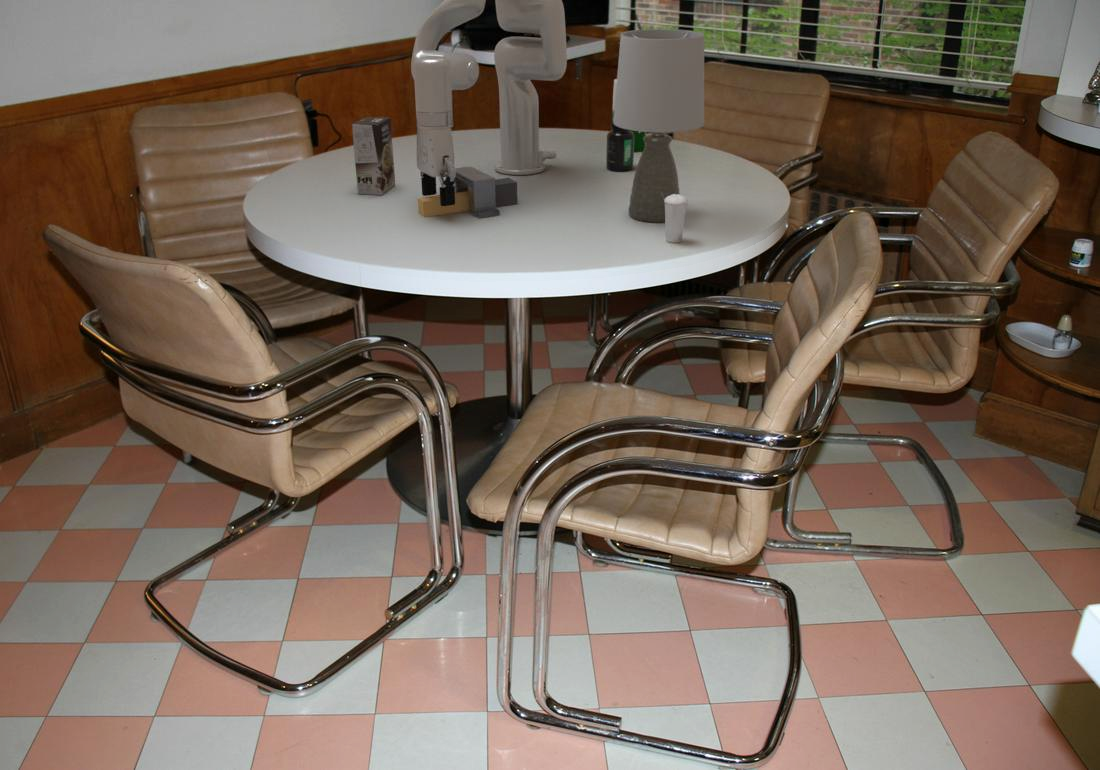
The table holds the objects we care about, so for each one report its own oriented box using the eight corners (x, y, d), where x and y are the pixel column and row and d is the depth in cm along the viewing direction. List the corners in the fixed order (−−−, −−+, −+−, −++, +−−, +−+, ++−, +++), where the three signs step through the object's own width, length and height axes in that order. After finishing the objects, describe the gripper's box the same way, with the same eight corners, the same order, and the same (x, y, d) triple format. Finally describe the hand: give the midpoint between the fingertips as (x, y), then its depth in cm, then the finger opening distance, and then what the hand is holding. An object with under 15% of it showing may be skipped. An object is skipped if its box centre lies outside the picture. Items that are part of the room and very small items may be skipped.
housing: (468, 197, 225) (466, 164, 222) (500, 215, 213) (499, 180, 209) (448, 200, 223) (446, 167, 220) (479, 218, 211) (477, 183, 207)
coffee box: (383, 195, 227) (377, 124, 220) (356, 194, 228) (350, 123, 221) (396, 185, 235) (391, 116, 228) (371, 184, 236) (365, 115, 229)
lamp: (715, 215, 212) (728, 33, 196) (659, 234, 200) (668, 42, 184) (649, 198, 224) (656, 26, 208) (593, 215, 212) (595, 34, 196)
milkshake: (656, 237, 198) (658, 188, 194) (682, 236, 199) (685, 187, 194) (660, 244, 194) (662, 194, 190) (687, 243, 195) (690, 193, 190)
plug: (509, 199, 224) (508, 177, 222) (517, 204, 220) (517, 182, 218) (417, 212, 215) (416, 190, 213) (424, 217, 211) (423, 194, 209)
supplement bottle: (634, 172, 246) (635, 123, 240) (606, 172, 246) (607, 123, 241) (632, 165, 252) (634, 117, 247) (605, 165, 252) (606, 117, 247)
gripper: (402, 114, 211) (406, 193, 218) (434, 127, 197) (438, 211, 204) (434, 111, 214) (438, 189, 221) (468, 124, 200) (471, 207, 208)
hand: (438, 200), depth 213 cm, fingers open, 9 cm apart
